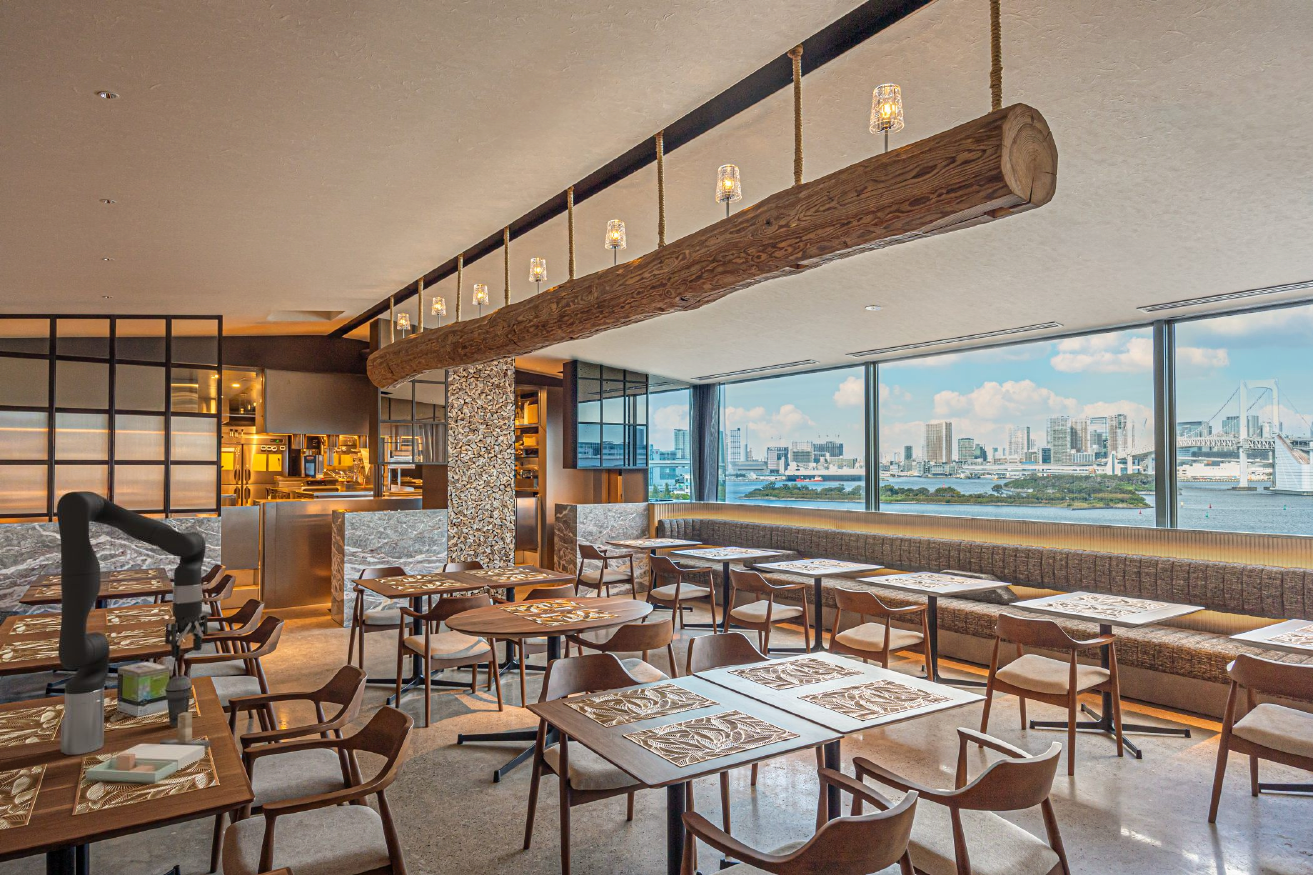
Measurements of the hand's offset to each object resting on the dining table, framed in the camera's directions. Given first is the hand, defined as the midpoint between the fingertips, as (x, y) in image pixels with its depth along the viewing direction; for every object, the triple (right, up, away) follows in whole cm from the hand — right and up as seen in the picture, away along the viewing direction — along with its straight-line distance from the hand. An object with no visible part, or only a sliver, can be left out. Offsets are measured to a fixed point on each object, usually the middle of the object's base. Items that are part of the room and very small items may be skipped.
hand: (186, 653), depth 225 cm
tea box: (-34, -28, +30) cm, 54 cm away
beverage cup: (-12, -27, +14) cm, 33 cm away
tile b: (+5, -23, -27) cm, 35 cm away
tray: (+1, -25, -25) cm, 36 cm away
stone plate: (+2, -25, -16) cm, 30 cm away
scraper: (+3, -26, -5) cm, 27 cm away
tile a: (-2, -23, -22) cm, 32 cm away
